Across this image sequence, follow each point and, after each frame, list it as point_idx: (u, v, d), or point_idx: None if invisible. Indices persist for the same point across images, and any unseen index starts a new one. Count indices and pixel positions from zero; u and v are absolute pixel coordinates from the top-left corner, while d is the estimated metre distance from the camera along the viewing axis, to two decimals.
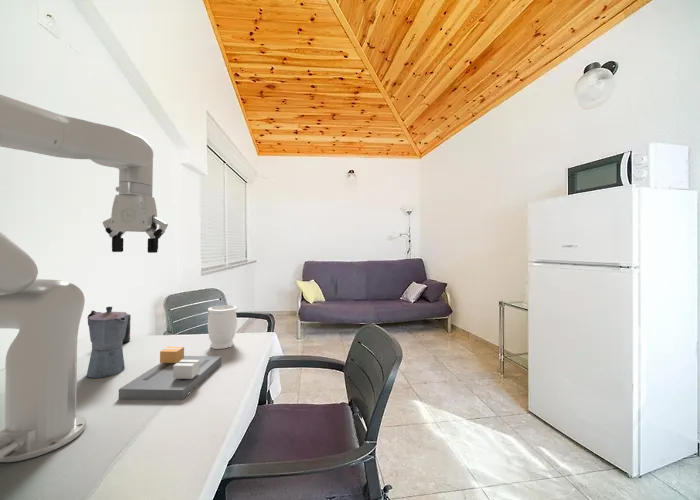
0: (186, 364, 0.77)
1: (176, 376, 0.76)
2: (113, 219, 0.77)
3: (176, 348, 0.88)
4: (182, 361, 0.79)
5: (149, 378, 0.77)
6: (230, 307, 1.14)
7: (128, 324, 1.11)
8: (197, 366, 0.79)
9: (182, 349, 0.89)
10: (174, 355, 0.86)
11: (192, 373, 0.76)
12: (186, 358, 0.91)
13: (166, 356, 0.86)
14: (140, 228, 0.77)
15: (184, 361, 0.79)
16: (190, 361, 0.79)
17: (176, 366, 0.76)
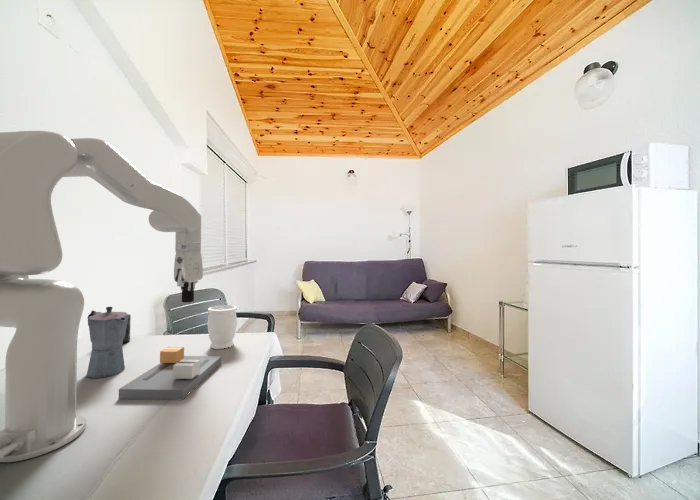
0: (186, 364, 0.77)
1: (176, 376, 0.76)
2: (189, 273, 0.92)
3: (176, 348, 0.88)
4: (182, 361, 0.79)
5: (149, 378, 0.77)
6: (230, 307, 1.14)
7: (128, 324, 1.11)
8: (197, 366, 0.79)
9: (182, 349, 0.89)
10: (174, 355, 0.86)
11: (192, 373, 0.76)
12: (186, 358, 0.91)
13: (166, 356, 0.86)
14: (201, 277, 0.99)
15: (184, 361, 0.79)
16: (190, 361, 0.79)
17: (176, 366, 0.76)
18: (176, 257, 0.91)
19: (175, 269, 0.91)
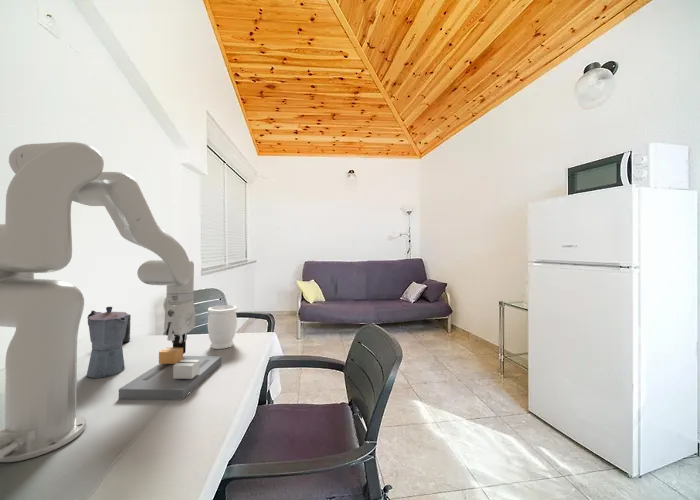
0: (186, 364, 0.77)
1: (176, 376, 0.76)
2: (180, 326, 0.88)
3: (175, 349, 0.88)
4: (182, 361, 0.79)
5: (149, 378, 0.77)
6: (230, 307, 1.14)
7: (128, 324, 1.11)
8: (197, 366, 0.79)
9: (181, 350, 0.88)
10: (173, 355, 0.85)
11: (192, 373, 0.76)
12: (186, 358, 0.91)
13: (165, 357, 0.85)
14: (193, 327, 0.95)
15: (184, 361, 0.79)
16: (190, 361, 0.79)
17: (176, 366, 0.76)
18: (167, 310, 0.87)
19: (166, 322, 0.87)
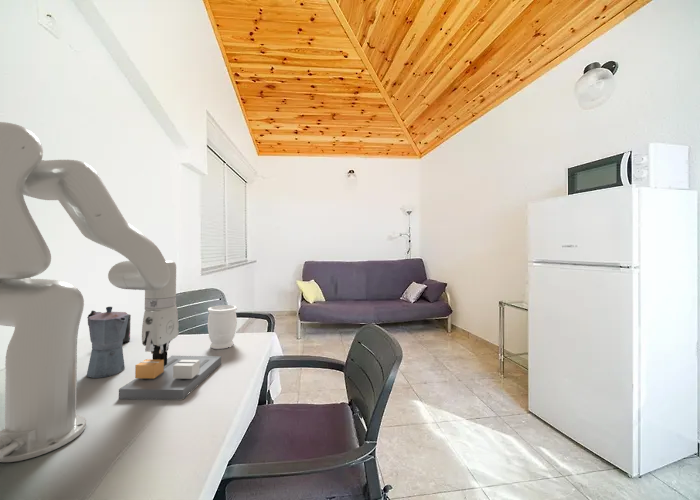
0: (186, 364, 0.77)
1: (176, 376, 0.76)
2: (160, 335, 0.78)
3: (154, 361, 0.78)
4: (182, 361, 0.79)
5: (149, 378, 0.77)
6: (230, 307, 1.14)
7: (128, 324, 1.11)
8: (197, 366, 0.79)
9: (161, 362, 0.79)
10: (152, 369, 0.76)
11: (192, 373, 0.76)
12: (186, 358, 0.91)
13: (142, 370, 0.76)
14: (176, 335, 0.85)
15: (184, 361, 0.79)
16: (190, 361, 0.79)
17: (176, 366, 0.76)
18: (144, 317, 0.77)
19: (143, 331, 0.77)
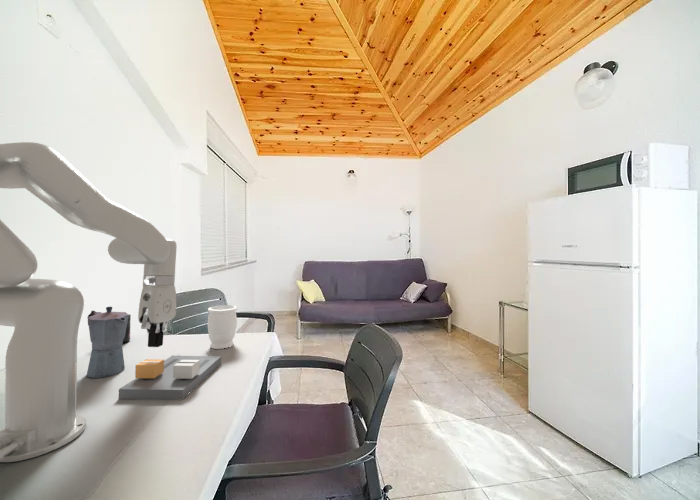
0: (186, 364, 0.77)
1: (176, 376, 0.76)
2: (157, 313, 0.77)
3: (154, 361, 0.78)
4: (182, 361, 0.79)
5: (149, 378, 0.77)
6: (230, 307, 1.14)
7: (128, 324, 1.11)
8: (197, 366, 0.79)
9: (161, 362, 0.79)
10: (152, 369, 0.76)
11: (192, 373, 0.76)
12: (186, 358, 0.91)
13: (142, 370, 0.76)
14: (173, 316, 0.84)
15: (184, 361, 0.79)
16: (190, 361, 0.79)
17: (176, 366, 0.76)
18: (142, 293, 0.76)
19: (140, 308, 0.76)
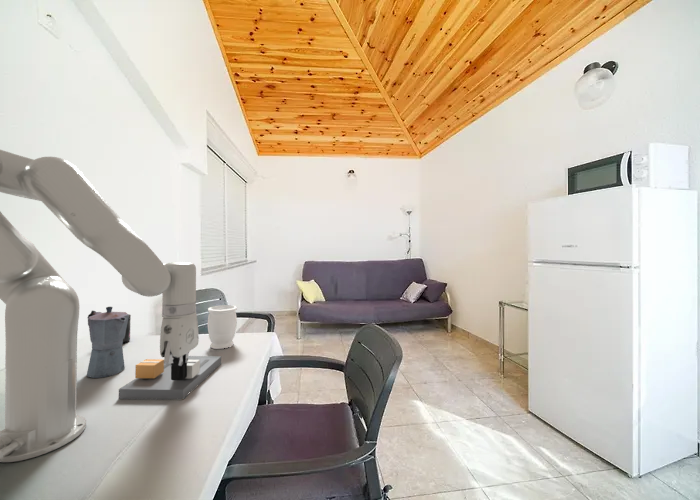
0: None
1: None
2: (180, 346, 0.70)
3: (154, 361, 0.78)
4: None
5: (149, 378, 0.77)
6: (230, 307, 1.14)
7: (128, 324, 1.11)
8: (197, 366, 0.79)
9: (161, 362, 0.79)
10: (152, 369, 0.76)
11: (192, 373, 0.77)
12: None
13: (142, 370, 0.76)
14: (196, 344, 0.77)
15: None
16: (190, 361, 0.79)
17: None
18: (163, 325, 0.69)
19: (161, 341, 0.69)
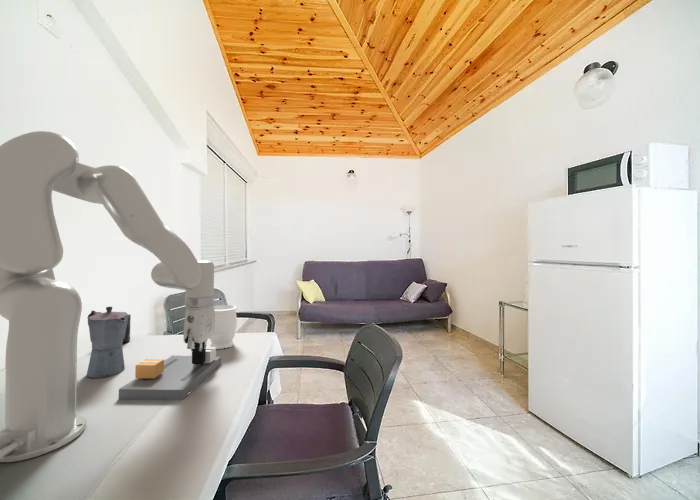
0: None
1: None
2: (201, 333, 0.80)
3: (154, 361, 0.78)
4: None
5: (149, 378, 0.77)
6: (230, 307, 1.14)
7: (128, 324, 1.11)
8: (214, 352, 0.89)
9: (161, 362, 0.79)
10: (152, 369, 0.76)
11: (210, 358, 0.87)
12: (186, 358, 0.91)
13: (142, 370, 0.76)
14: (213, 333, 0.88)
15: None
16: (208, 348, 0.89)
17: None
18: (186, 315, 0.80)
19: (185, 329, 0.79)
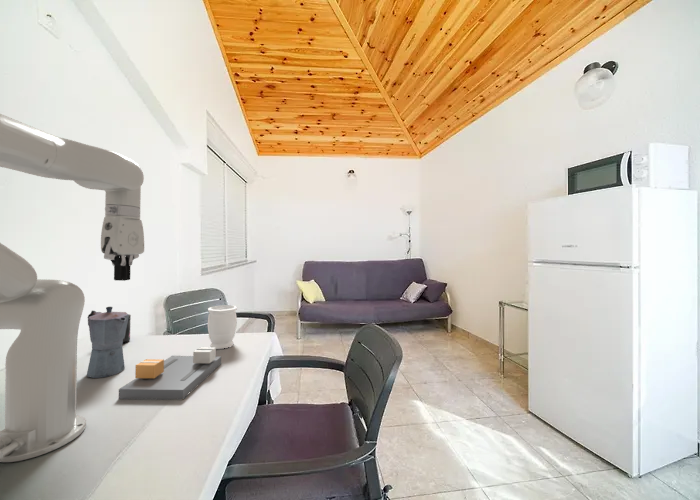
0: (204, 351, 0.87)
1: (196, 361, 0.86)
2: (121, 243, 0.73)
3: (154, 361, 0.78)
4: (200, 348, 0.89)
5: (149, 378, 0.77)
6: (230, 307, 1.14)
7: (128, 324, 1.11)
8: (214, 353, 0.89)
9: (161, 362, 0.79)
10: (152, 369, 0.76)
11: (210, 358, 0.87)
12: (186, 358, 0.91)
13: (142, 370, 0.76)
14: (141, 251, 0.81)
15: (202, 348, 0.89)
16: (207, 348, 0.89)
17: (196, 352, 0.86)
18: (104, 222, 0.73)
19: (102, 237, 0.72)
